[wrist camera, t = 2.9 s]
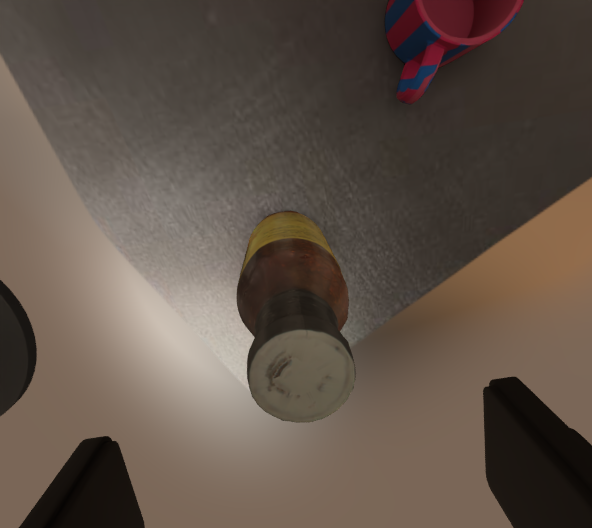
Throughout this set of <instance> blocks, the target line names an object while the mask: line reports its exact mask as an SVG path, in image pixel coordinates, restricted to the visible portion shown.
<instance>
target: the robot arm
mask: <svg viewBox="0 0 592 528" xmlns="http://www.w3.org/2000/svg"><path fill="white" fill-rule="evenodd" d="M483 395H484V396H483V397H484V398H483V399H484V429H485V430H484V431H485V463H486V478H487V481H488V484H489V487H490V489H491V491H492V493H493V494H494V496H495V498H496V499H497V501H498V503H499V504H500V506H501V508H502V509H503V511H504V512H505V514H506V516H507V518H508V519H509V521H510V522H511V524H512V526H513V527H514V528H592V445H591V444H590V443H589V442H587V440H585V439H584V438H583V437H582V436H581V435H580V434H579V433H578V432H576V431H575V430H574V429H571V428H569V427H568V426H567V425H566V424H565V423H564V422H563V421H562V420H561V419H560V418H559V417H558V416H557V415H556V414H554V413H553V412H552V411H551V410H550V409H549V408H548V407H547V406H546V405H545V404H544V403H543V402H542V401H541V400H540V399H539V398H538V397H537V396H536V395H535V394H534V393H533V392H532V391H531V390H530V389H529V388H528V387H526V385H524V384H523V383H522V382H521V381H520V380H519V379H518V378H517V377H507V378H501V379H494V380H491V381H490V383H489V387H485V388H484V390H483ZM19 528H145V527H144V521H143V517H142V514H141V511H140V508H139V506H138V502H137V500H136V496H135V493H134V490H133V487H132V484H131V481H130V478H129V475H128V472H127V469H126V466H125V462H124V460H123V456H122V453H121V450H120V447H119V445H118V443H117V442H116V441H112V440H111V438H110V437H108V436H104V437H97V438H91V439H85V440H83V441H82V442H81V443H80V444H79V446H78V447H77V448H76V450H75V451H74V453H73V454H72V455H71V457H70V458H69V460H68V461H67V462H66V463H65V465H64V466H63V468H62V469H61V470H60V472H59V473H58V474H57V476H56V477H55V479H54V480H53V482H52V483H51V484H50V486H49V487H48V488H47V490H46V491H45V493H44V494H43V495H42V497H41V498H40V499H39V501H38V502H37V503H36V505H35V507H34V508H33V509H32V510H31V512H30V513H29V515H28V516H27V517H26V519H25V520H24V522H23V523H22V524H21V526H20V527H19Z"/></svg>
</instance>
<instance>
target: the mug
mask: <svg viewBox="0 0 592 528" xmlns="http://www.w3.org/2000/svg"><path fill="white" fill-rule="evenodd" d="M523 1H524V0H389V2H388V5H387V8H386V14H385V30H386V36H387V39H388V42H389V44H390V46H391V48H392V50H393V52H394V53H395V54H396V56H397V57H398V58H399V59H401V60H402V61H403V62H404V63H405V66H404V69H403V72H402V75H401V78H400V81H399V84H398V88H397V99H398V100H399V101H401V102H402V103H406V104H412V103H414V102H415V101H417V100H418V99H419V98H420V97H421V96H422V95H423V94H424V92H425V91H426V90H427V88H428V86H429V85H430V83H431V81H432V79H433V77H434V75H435V73H436V71H437V69H438V68H439V67H442V66H444V65H446V64H448V63H450V62H452V61H453V60H455V59H457V58H459V57H460V56H462V55H464V54H466V53H467V52H469V51H471V50H473V49H474V48H476V47H478V46H480V45H481V44H483V43H485V42H487V41H488V40H490V39H492V38H493V37H495V36H496V35H498V34H499V33H501V32H502V31H503V30H504V29H505V28H506V27H507V26H508V25H509V24H510V23H511V22H512V20H513V19H514V18H515V16H516V15H517V13H518V11H519V10H520V8H521V6H522V3H523Z"/></svg>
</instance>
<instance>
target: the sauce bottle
mask: <svg viewBox="0 0 592 528" xmlns="http://www.w3.org/2000/svg"><path fill="white" fill-rule="evenodd" d="M348 302H349V299H348V290H347V286H346V282H345V280H344V278H343V275H342V272H341V269H340V267H339V265H338V263H337V261H336V259H335V257H334V255H333V253H332V251H331V249H330V247H329V245H328V243H327V241H326V239H325V237H324V236H323V234H322V232H321V230H320V229H319V227H318V226H317V225H316V224H315V223H314V222H313V221H312V220H310V219H309V218H308V217H306V216H304V215H302V214H300V213H298V212H294V211H284V212H278V213H274V214H271V215H269V216H267V217H266V218H265V219H263V220H262V221H261V222H260V223H259V224H258V225H257V226H256V228H255V229H254V231H253V233H252V234H251V236H250V239H249V243H248V247H247V251H246V254H245V259H244V262H243V266H242V270H241V273H240V278H239V282H238V287H237V306H238V311H239V314H240V317H241V319H242V321H243V323H244V324H245V326H246V327H247V328H248V330H249V331H250V332H251V333H252V334H253V336H254V337H255V339H254V341H253V343H252V346H251V348H250V350H249V354H248V360H247V378H248V383H249V388H250V391H251V394H252V397H253V398H254V400H255V401H256V403H257V404H258V405H259V406H260V407H261V408H262V409H263V410H264V411H265V412H267V413H269V414H271V415H272V416H274V417H277V418H279V419H281V420H283V421H291V422H313V421H316V420H320V419H323V418H325V417H327V416H329V415H331V414H332V413H334V412H335V411H337V410H338V409H339V408H340V407H341V406H342V405H343V404H344V403H345V401H346V400H347V398H348V397H349V395H350V393H351V391H352V390H353V388H354V382H355V364H354V360H353V356H352V353H351V350H350V347H349V344H348V341H347V340H346V339H345V338H344V337H343V335H342V334H341V333H340V331H341V329H342V327H343V326H344V324H345V322H346V320H347V318H348V317H347V315H348V306H349V303H348Z"/></svg>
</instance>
